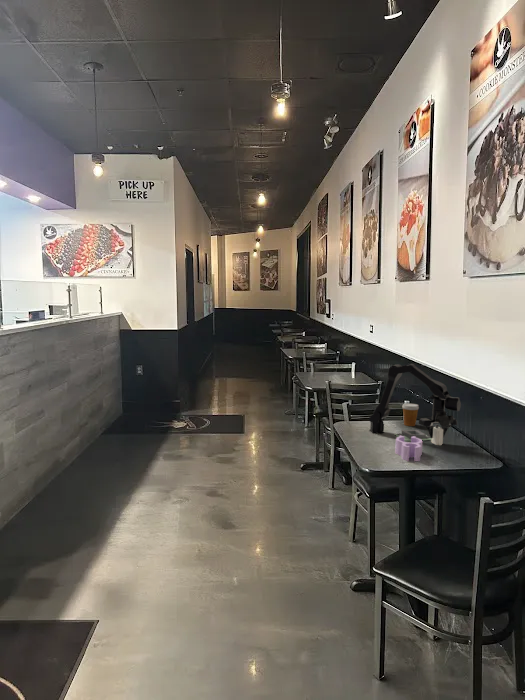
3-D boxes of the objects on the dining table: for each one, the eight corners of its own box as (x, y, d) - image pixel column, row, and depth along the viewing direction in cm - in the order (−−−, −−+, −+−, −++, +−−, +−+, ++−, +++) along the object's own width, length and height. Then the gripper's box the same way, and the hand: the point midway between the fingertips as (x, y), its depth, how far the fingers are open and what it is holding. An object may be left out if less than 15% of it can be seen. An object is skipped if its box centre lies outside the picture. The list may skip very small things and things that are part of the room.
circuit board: (404, 441, 282) (404, 438, 282) (394, 435, 293) (394, 432, 293) (432, 440, 285) (432, 437, 285) (421, 434, 297) (421, 431, 297)
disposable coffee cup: (403, 422, 323) (404, 402, 322) (419, 424, 319) (420, 404, 318) (399, 425, 315) (400, 405, 313) (416, 427, 310) (417, 407, 309)
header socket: (410, 439, 283) (410, 435, 283) (401, 434, 293) (401, 430, 293) (425, 438, 285) (425, 434, 285) (416, 433, 295) (416, 429, 295)
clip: (425, 462, 248) (426, 448, 247) (397, 461, 249) (398, 446, 249) (419, 450, 267) (420, 436, 266) (393, 448, 269) (394, 435, 268)
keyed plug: (437, 445, 275) (437, 426, 274) (431, 442, 281) (432, 424, 280) (443, 444, 276) (444, 426, 275) (437, 441, 282) (438, 423, 281)
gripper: (429, 412, 267) (428, 443, 269) (464, 411, 271) (462, 441, 273) (419, 407, 278) (417, 437, 280) (451, 406, 282) (450, 435, 284)
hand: (437, 437), depth 279 cm, fingers open, 6 cm apart
